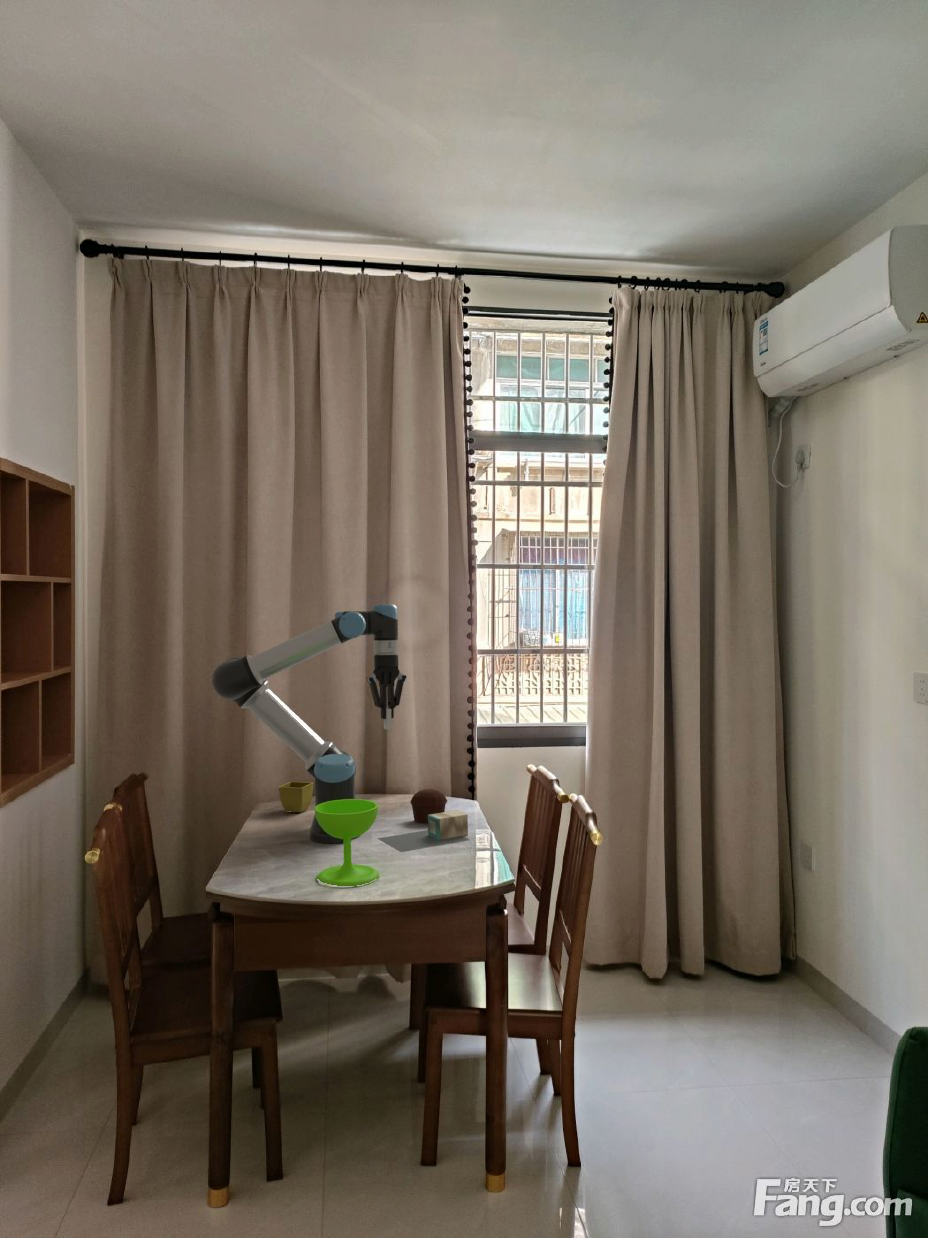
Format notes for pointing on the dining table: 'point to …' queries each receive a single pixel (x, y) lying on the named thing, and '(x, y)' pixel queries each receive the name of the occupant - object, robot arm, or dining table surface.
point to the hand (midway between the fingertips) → (387, 729)
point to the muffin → (427, 804)
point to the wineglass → (347, 838)
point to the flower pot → (296, 796)
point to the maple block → (447, 824)
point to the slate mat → (418, 841)
